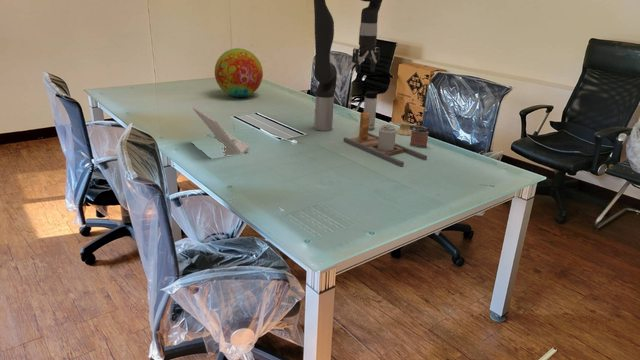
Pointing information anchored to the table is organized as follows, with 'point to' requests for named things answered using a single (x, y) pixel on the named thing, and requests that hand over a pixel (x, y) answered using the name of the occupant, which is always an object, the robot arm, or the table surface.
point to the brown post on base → (370, 140)
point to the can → (386, 138)
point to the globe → (238, 72)
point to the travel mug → (371, 107)
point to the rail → (382, 155)
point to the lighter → (419, 137)
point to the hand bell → (405, 123)
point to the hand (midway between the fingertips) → (365, 72)
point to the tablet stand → (222, 135)
